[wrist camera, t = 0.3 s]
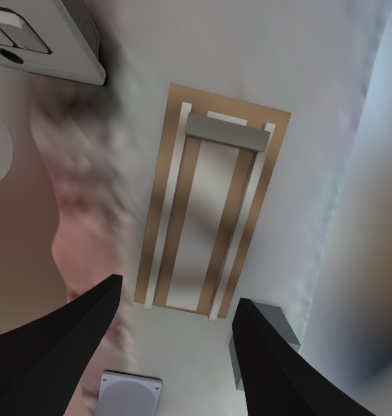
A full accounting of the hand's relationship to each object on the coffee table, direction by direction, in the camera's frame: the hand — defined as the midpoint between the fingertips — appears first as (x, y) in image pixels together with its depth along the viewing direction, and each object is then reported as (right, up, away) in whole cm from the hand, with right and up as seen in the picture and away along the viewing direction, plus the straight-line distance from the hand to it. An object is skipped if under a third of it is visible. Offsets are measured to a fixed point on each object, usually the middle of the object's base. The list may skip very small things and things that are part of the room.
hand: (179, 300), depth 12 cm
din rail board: (+2, +4, +9) cm, 10 cm away
